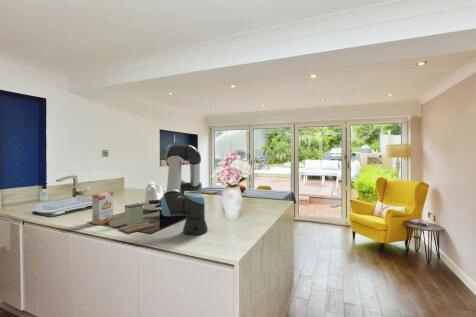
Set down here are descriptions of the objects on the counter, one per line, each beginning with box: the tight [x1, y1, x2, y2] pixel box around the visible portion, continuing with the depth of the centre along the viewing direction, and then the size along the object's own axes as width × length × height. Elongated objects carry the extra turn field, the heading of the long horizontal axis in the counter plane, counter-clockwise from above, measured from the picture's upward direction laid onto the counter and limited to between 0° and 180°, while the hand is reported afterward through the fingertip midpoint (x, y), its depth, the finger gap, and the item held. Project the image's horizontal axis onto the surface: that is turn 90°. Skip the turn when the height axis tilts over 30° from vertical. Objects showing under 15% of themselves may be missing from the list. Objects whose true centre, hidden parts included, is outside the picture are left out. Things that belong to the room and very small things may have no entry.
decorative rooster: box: [143, 181, 164, 211], centre depth 211 cm, size 25×16×25 cm, turn 159°
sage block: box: [124, 202, 144, 226], centre depth 170 cm, size 6×10×13 cm, turn 142°
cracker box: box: [91, 191, 114, 226], centre depth 172 cm, size 14×6×21 cm, turn 168°
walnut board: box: [118, 221, 156, 235], centre depth 158 cm, size 13×18×1 cm
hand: (146, 205), depth 178 cm, fingers open, 13 cm apart
